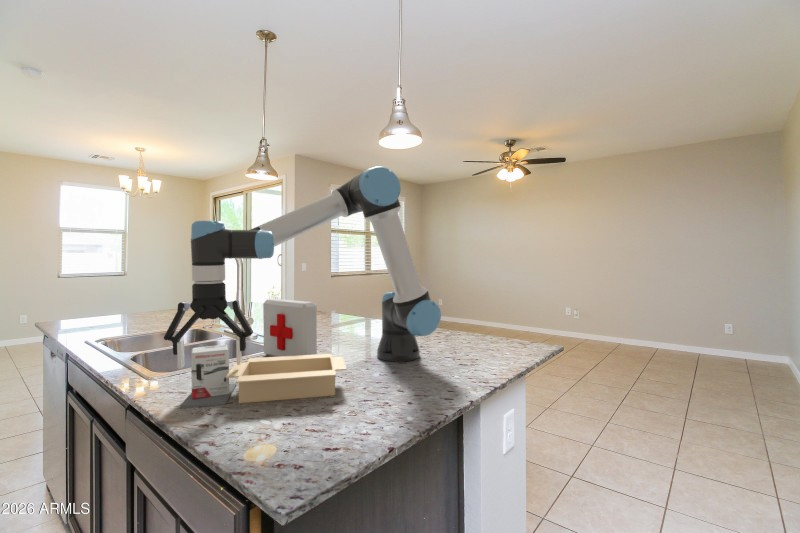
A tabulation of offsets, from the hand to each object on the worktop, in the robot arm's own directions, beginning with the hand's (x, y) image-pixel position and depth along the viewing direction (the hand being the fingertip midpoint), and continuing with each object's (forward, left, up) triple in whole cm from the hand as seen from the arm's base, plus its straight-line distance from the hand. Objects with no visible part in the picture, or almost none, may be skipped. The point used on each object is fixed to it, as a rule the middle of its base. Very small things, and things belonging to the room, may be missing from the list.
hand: (210, 365), depth 96 cm
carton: (-19, 0, -8) cm, 21 cm away
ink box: (0, 0, -7) cm, 8 cm away
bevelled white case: (-17, -32, -8) cm, 37 cm away
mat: (0, 0, -8) cm, 8 cm away
